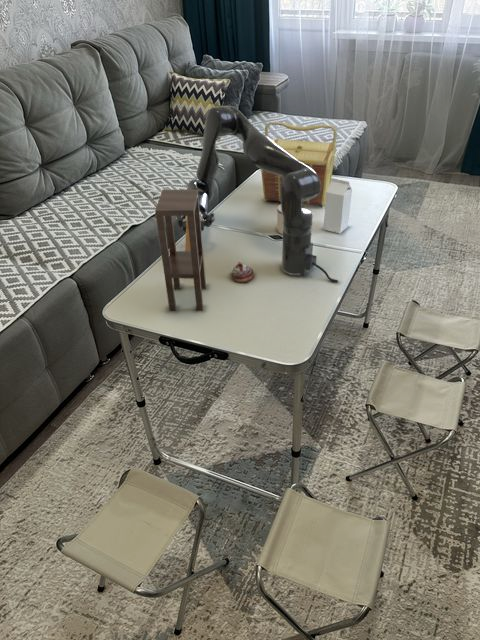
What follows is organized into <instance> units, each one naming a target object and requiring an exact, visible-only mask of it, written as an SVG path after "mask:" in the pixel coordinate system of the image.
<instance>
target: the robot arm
mask: <svg viewBox="0 0 480 640" xmlns="http://www.w3.org/2000/svg"><path fill="white" fill-rule="evenodd" d="M224 136H225V137H226V136H234V137H236V138H237V139H238V140H240V141H241V142H242V150H243V155H245V157H246V158H247V159H248V160H249V161H250V162H251V163H252V164H253V165H254V166H255V167H257V168H259V169H260V170H261V169H262V170H264V171H267V172H270V173H273V174H277V175H280V176H283V178H282V181H281V201H280V205H281V211H282V215H283V234H282V244H281V245H282V247H281V249H282V252H281V270H282V272H283V273H284V274H286V275H289V276H294V277H295V276H297V277H298V276H301V277H305V276H306V275H307V273H309V271H311V270H312V269H313V268H314V267H316V268H317V269H319V270H320V271H322V273H323V274H325V277H326V278H327V279H328V280H329V281H331V282H334V283H338V282H339V280H337V279H334V278H332V277H330V275H329V274H328V272H327V271H326V270H325V269H324V268H323V267H322V266H320V265H319V264H317V255H315V254H313V251H314V243H313V242H312V231H313V227H312V226H313V213H312V212H311V210H309V209H306V208H304V207H303V206H302V205H303V203H302V202H303V201H306V200H310V199H312V198H314V197H316V196H317V195H318V194H319V193H320V191H321V182H320V179H319V177H318V175H317V174H316V173H315V172H314V171H313V170H312V169H311V168H309V167H308V166H306V165H305V164H303V163H301V162H300V161H298V160H296V159H295V158H293V157H292V156H291V155H289V154H288V153H287V152H285V151H284V150H283V149H282V148H280V147H279V146H278V145H277V144H275V143H274V142H273V141H272V139H271V138H270V137H269V136H268V137H269V138H268V137H267V136H266V135H265V133H263V132H262V131H261V130H260V129H258V127H256V126H255V125H254V124H253V123H252V122H250V120H249V119H248V118H247V117H246V116H245V115H244V114H243V113H242V111H240V110H239V109H238V108H237V107H236V106H233V105H219V106H212V107H210V108H209V109H208V111H207V112H206V116H205V121H204V129H203V138H202V149H201V155H200V159H199V163H198V165H197V169H196V175H195V176H196V178H197V179H195V178H194V179H191V180H189V182H188V184H187V186H186V190H198V198H199V210H200V222H201V233H202V231H204V230H205V228H206V227H207V228H209V227H211V225H212V224H213V223H214V222H215V213H213V212H212V213H210V214H208V211H209V206H208V205H209V202H211V201H212V200H213V198H214V197H215V178H216V175H217V172H218V169H219V165H220V159H219V155H218V152H217V148H216V143H217V141H218V138H219V137H224ZM175 219H176V222H177V223H176V224H177V225H178V227H179V228H182V231H183V232H184V233H186V219H187V216H175Z"/></svg>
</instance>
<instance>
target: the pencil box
mask: <svg viewBox="0 0 480 640" xmlns="http://www.w3.org/2000/svg"><path fill="white" fill-rule="evenodd" d="M184 240H185V242H184V243H185V244H184V251H191V249H190V239H189V229H188V220H187V219H186V232H185V239H184Z"/></svg>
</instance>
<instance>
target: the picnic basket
mask: <svg viewBox="0 0 480 640" xmlns="http://www.w3.org/2000/svg"><path fill="white" fill-rule="evenodd" d="M273 125H274V126H282V127H284V128H286V129H287V130H288V129H289V130H291V131H298V132H310V131H314V130H318V129H331V130H332V131H333V137H332V142H324V141H309V140H296V139H294V140H293V139H281V138H280V139H279V138H272V139H271V140H272V141H273V142H274V143H275V144H277V145H278V146H279V147H280V148H282V149H283V150H284V151H285V152H287V153H288V154H289V155H291V156H292V157H293V158H295V159H296V160H298V161H300V162H301V163H303V164H305V165H306V166H308V167H309V168H311V169H312V170H313V171H314V172H315V173H316V174H317V175H318V177H319V179H320V182H321V191H320V193H319V194H318V195H317V196H316V197H314V198H312V199H310V200H306V201H303V202H302V204H307V205H318V206H322V207H325V202H326V191H327V189H328V187H329V184H330V182H331V178H333V170H334V165H335V164H334V163H335V157H336V151H337V146H338V145H337V137H338V131H337V130H338V129H337V128H336V127H335V126H334V125H329V124H317V125H315V124H314V125H308V126H300V125H293V124H291V123H286V122H280V121H269V122H268V123H266V124H265V126H264V135H266V136H267V137H268V138H270V137H269V127H270V126H273ZM260 173H261V181H262V193H263V198H264V201H265V202H268V201H273V202H281V181H282V178H283V176H280V175H277V174H273V173H270V172H267V171H264V170H262V169H260Z"/></svg>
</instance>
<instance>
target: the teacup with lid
mask: <svg viewBox="0 0 480 640" xmlns="http://www.w3.org/2000/svg"><path fill="white" fill-rule="evenodd" d="M276 211H277V227H276V228H277V229H276V230H277V232H278V233H279V234H280V235H283V215H282V211H281V204H279V205H278V206H277V209H276Z"/></svg>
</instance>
